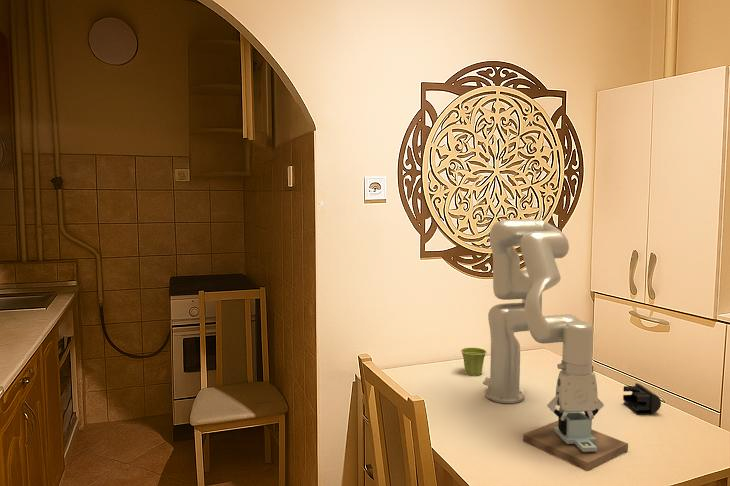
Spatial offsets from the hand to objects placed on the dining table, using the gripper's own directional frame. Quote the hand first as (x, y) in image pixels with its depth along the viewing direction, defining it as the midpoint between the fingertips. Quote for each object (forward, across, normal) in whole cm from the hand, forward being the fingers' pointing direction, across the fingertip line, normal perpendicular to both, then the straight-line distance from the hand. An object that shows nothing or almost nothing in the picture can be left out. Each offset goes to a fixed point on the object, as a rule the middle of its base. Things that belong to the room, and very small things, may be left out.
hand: (574, 431), depth 152 cm
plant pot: (+4, -11, +61) cm, 62 cm away
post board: (+4, 0, 0) cm, 4 cm away
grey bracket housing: (+1, 0, -2) cm, 3 cm away
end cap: (+4, +32, +22) cm, 39 cm away
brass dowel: (+2, 0, -7) cm, 7 cm away
